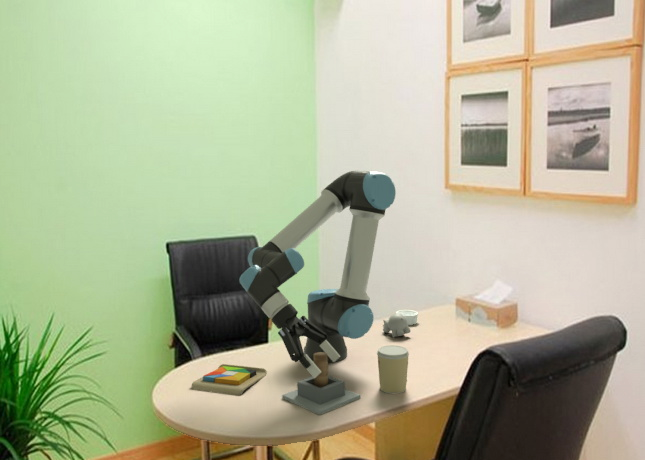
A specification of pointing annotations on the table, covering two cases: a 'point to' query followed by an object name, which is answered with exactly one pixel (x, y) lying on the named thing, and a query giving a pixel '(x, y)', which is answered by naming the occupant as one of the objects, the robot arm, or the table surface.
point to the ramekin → (409, 316)
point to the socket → (321, 395)
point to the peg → (322, 364)
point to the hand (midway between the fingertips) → (328, 367)
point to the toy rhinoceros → (396, 325)
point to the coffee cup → (392, 368)
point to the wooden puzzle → (230, 379)
